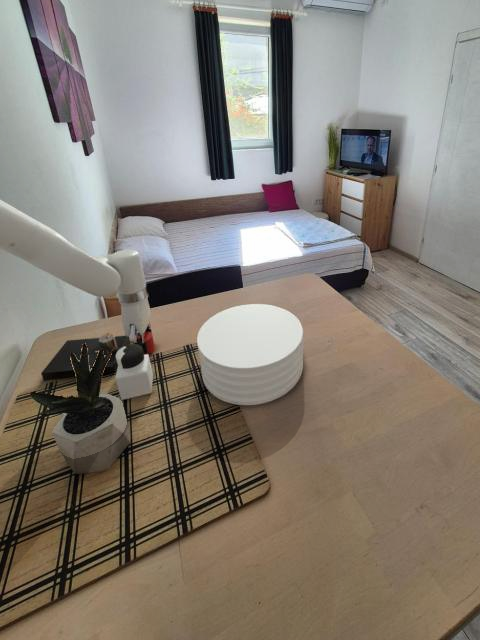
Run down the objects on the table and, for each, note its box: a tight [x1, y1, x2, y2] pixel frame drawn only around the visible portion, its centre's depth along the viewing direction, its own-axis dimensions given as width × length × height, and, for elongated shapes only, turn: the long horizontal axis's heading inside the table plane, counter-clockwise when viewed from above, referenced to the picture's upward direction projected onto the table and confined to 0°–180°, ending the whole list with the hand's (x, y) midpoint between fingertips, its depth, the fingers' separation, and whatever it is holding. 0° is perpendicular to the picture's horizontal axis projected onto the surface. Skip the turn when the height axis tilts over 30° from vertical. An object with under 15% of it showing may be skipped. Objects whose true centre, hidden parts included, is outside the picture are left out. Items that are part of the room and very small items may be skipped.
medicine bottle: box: [115, 343, 154, 401], centre depth 82 cm, size 7×7×12 cm
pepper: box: [136, 332, 156, 355], centre depth 97 cm, size 5×5×7 cm
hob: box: [40, 335, 131, 381], centre depth 94 cm, size 19×14×3 cm
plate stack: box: [196, 303, 304, 406], centre depth 89 cm, size 28×28×12 cm
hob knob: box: [98, 332, 118, 355], centre depth 93 cm, size 4×4×5 cm
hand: (144, 346), depth 97 cm, fingers closed on pepper, 5 cm apart
